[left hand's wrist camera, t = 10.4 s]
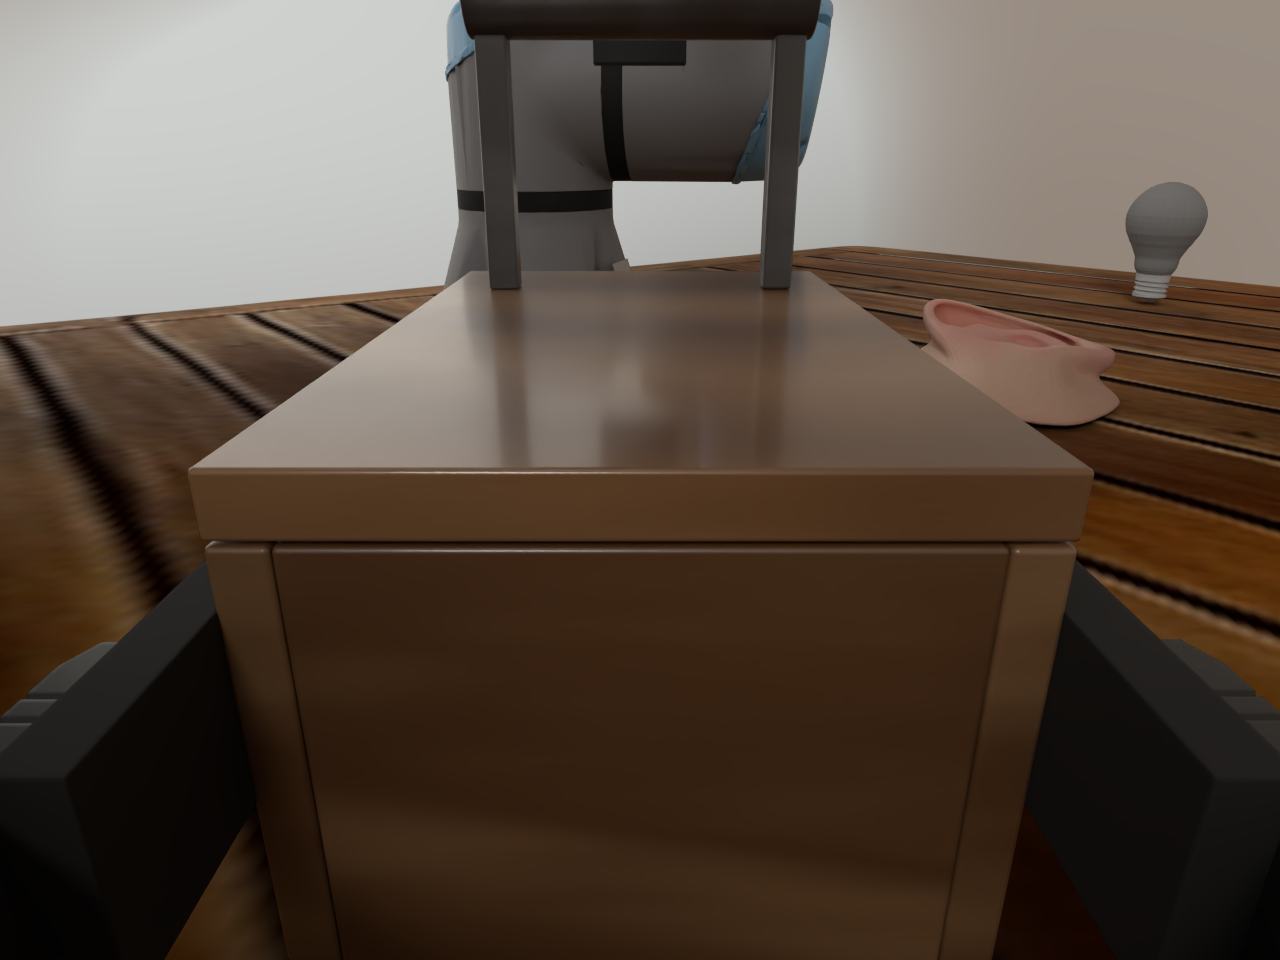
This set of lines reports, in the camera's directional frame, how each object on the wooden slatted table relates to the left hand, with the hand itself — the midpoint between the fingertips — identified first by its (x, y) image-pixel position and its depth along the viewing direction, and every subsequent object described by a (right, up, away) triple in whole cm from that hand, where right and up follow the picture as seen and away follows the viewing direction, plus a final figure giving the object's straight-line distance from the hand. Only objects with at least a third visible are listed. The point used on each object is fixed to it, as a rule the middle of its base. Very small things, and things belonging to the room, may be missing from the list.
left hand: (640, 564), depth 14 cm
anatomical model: (+20, +6, +34) cm, 40 cm away
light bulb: (+45, +17, +62) cm, 78 cm away
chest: (0, -5, +6) cm, 8 cm away
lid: (0, +4, +3) cm, 5 cm away
